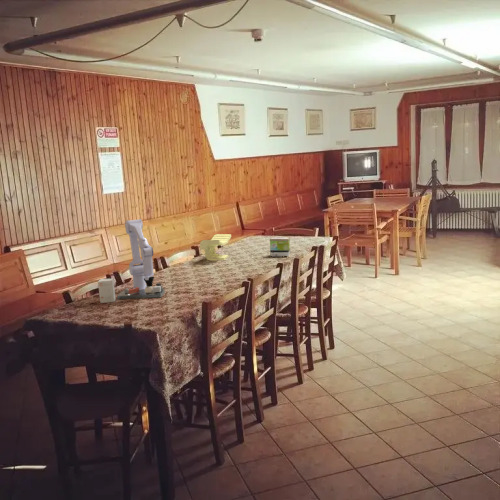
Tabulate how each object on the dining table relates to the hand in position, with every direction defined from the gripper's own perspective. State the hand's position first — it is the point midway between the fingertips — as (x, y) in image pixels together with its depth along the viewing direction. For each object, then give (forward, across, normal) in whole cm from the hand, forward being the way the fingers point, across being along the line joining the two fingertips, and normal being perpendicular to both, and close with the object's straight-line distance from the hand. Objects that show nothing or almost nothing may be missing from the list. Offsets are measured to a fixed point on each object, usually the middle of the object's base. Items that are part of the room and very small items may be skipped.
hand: (149, 289), depth 324 cm
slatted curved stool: (+4, -108, +35) cm, 113 cm away
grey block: (+1, +3, +5) cm, 6 cm away
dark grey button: (0, -2, +5) cm, 6 cm away
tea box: (+4, -109, +86) cm, 139 cm away
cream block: (+1, +3, 0) cm, 3 cm away
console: (+3, +1, -5) cm, 6 cm away
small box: (+4, +11, -23) cm, 26 cm away
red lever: (+1, +4, -10) cm, 11 cm away
